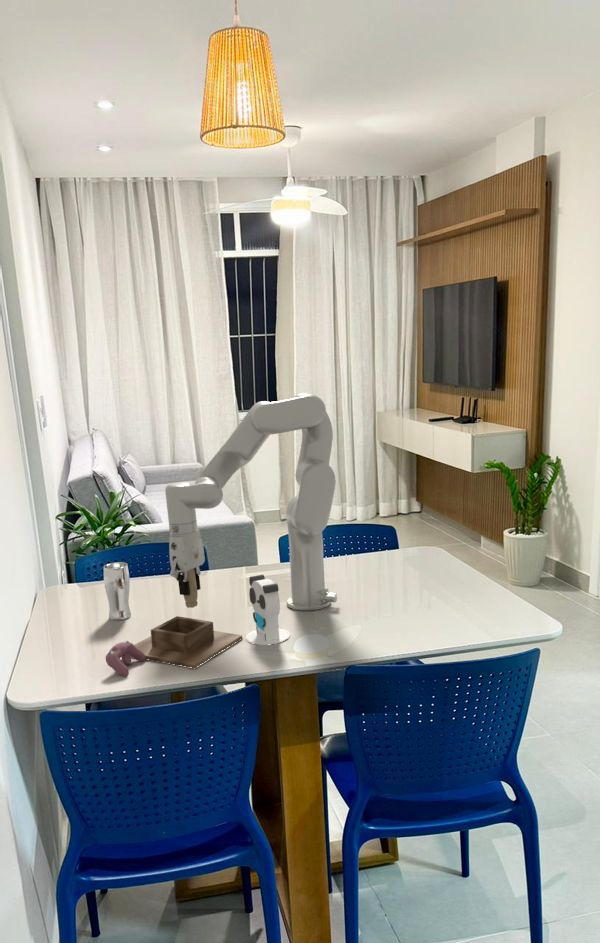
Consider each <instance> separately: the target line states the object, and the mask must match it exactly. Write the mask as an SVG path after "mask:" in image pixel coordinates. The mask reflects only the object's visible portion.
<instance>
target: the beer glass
mask: <svg viewBox="0 0 600 943" xmlns="http://www.w3.org/2000/svg"><path fill="white" fill-rule="evenodd" d="M103 583H104V589H105V594H106V597H107V600H108V601H107V602H108V604H109V612H108V619H109V620H111V621H124V620H127V619H129V618H130V617H131V616H132V612H131V609H130V605H129V604H130V603H129V597H130V588H131V587H130V585H131V584H130V583H131V582H130V573H129V567H128V563H126V562H120V561H119V562H117V561H116V562H111V563H106V564H105V565H104V566H103Z"/></svg>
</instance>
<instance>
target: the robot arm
mask: <svg viewBox="0 0 600 943" xmlns="http://www.w3.org/2000/svg"><path fill="white" fill-rule="evenodd" d="M326 407H327V406H326V404H325V402H324V401H323V400H322V398H320V397H318V396H317V395H314V394H311V393H308V392H300V393H297V394H295V395H294V396H293V397H292V398H290V399H284V400H279V401H271V402H270V401H268V400H267V401H266V400H264V401H263V400H262V401H258V402H256V403H254V404H253V405H252V406H251V407H250V409H249V410H248V412H246V414H245V415H244V417H243V418H242V420H240V423H239V424H237V426H236V428H235V430H234V431H233V432H232V433H231V434H230V436H229V437H228V439H227V440H226V441H225V443H224V444H223V445H222V446H221V447H220V449H219V450H218V451H217V453H215V455H214V456H213V457H212V458H211V460H210V461H209V462H208V464H206V466H205V468H204V469H203V471H201V473H200V474H199V476H198V477H197V478H196V480H195V482H194V484H192V483H191V482H186V481H183V482H182V481H181V482H180V481H179V482H173V483H170V484H168V485H166V486H165V500H166V508H167V509H166V510H167V519H168V527H169V545H168V546H169V547H168V548H169V549H168V550H169V551H168V552H169V563H170V568H171V569H170V573H169V576H171V577H173V578H174V579H175V580H176V581H177V582H178V589H179V595H181V596H184V595H190V587H189V581H187V571H190V570H192V569H194V571H195V577H196V583H197V591H200V590H201V589H202V588H201V581H200V575H201V569H202V566H203V564H204V563H205V561H206V558H205V551H204V550H205V549H204V548H205V547H204V543H203V540H202V535H201V532H200V529H198V522H197V514H196V513H197V512H196V509H197V510H198V509H200V510H201V509H204V510H209V509H214V508H216V507H218V506H219V505H220V504H221V503H222V501H223V498H224V497H223V496H224V494H223V489H224V487H225V485H226V484H227V483H228V482H229V480H230V479H231V478H232V476H233V475H234V474H235V473H236V472H237V471H238V470H239V469H241V468H242V467H245V466H246V465H248V464H249V463H250V462H251V461H252V460H253V459H254V457H255V456H256V455H257V453H258V452H259V450H260V449H261V448H262V446H263V445H264V443H265V442H266V441H267V439H269V437H270V436H271V435H277V434H284V433H288V432H293V431H299V430H301V434H302V435H301V444H300V450H299V454H298V455H299V457H298V461H297V465H296V470H295V480H296V483H297V484H298V486H299V492H298V494H297V495H295V496H294V497H292V498H291V499H290V501H289V502H288V504H287V506H286V511H285V512H286V513H285V514H286V515H285V517H286V526H287V533H288V535H287V536H288V546H289V548H288V549H289V565H290V584H291V596H290V597H289V598H287V599H286V605H287V607H288V608H290V609H293V610H295V611H296V610H297V611H306V612H307V611H315V610H321V609H324V608H327V607H328V606H329V605H331V603H336V602H337V601H338V596H337V593H334V592H330V591H329V587H326V586H325V585H326V583H325V567H324V566H325V564H324V562H325V561H324V543H323V542H324V540H323V539H324V538H323V531H324V530H325V528H326V527H327V525H328V522H329V520H330V517H331V516H330V515H331V511H332V507H333V506H332V505H333V501H334V494H335V490H336V475H335V471H334V470H333V468H332V467H331V465H330V461H331V460H330V459H331V454H332V448H333V447H332V446H333V439H334V438H333V437H334V436H333V434H334V431H333V426H332V422H331V419H330V416H329V415H328V412H327V408H326ZM197 553H198V558H197V559H196V558H195V559H194V555H195V554H197ZM182 572H183V575H182Z"/></svg>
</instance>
